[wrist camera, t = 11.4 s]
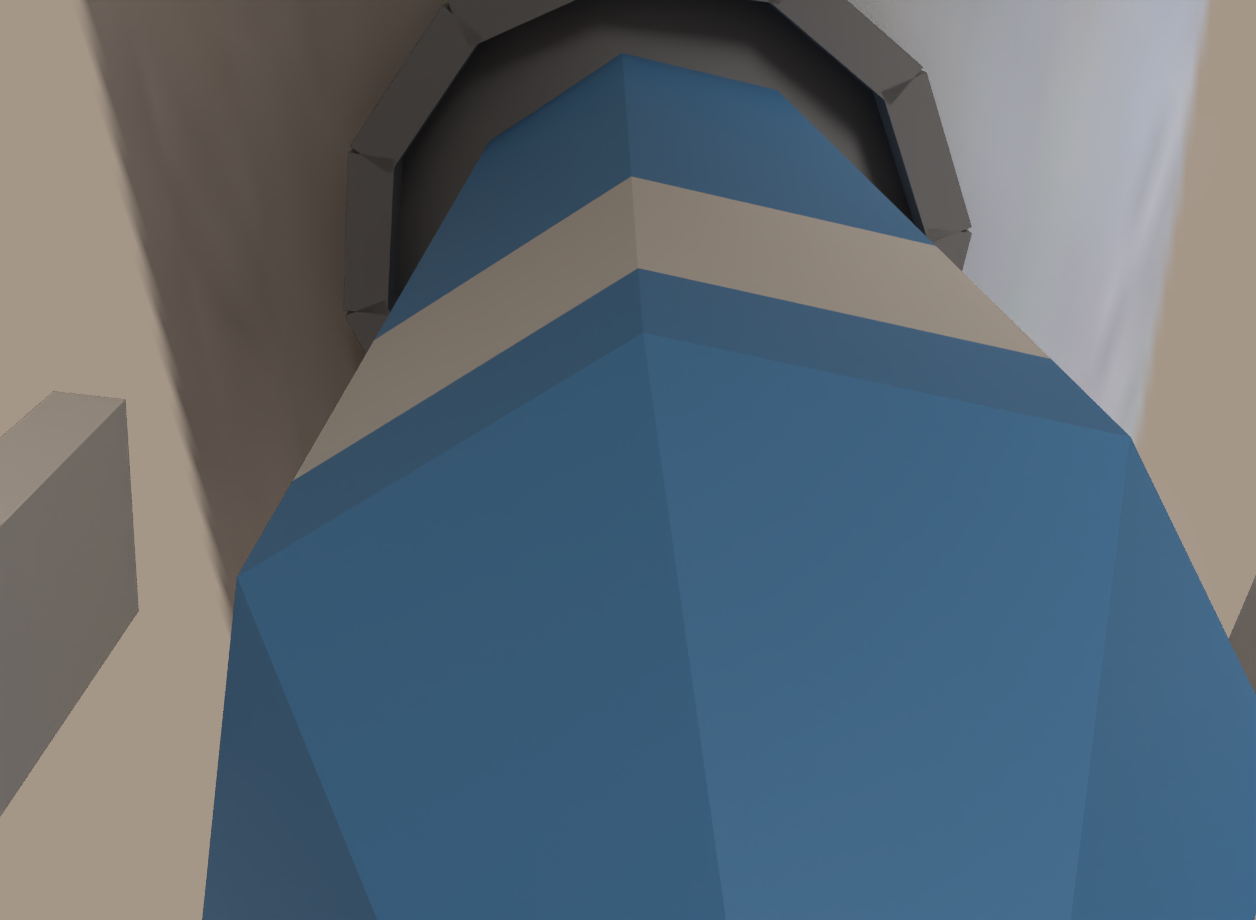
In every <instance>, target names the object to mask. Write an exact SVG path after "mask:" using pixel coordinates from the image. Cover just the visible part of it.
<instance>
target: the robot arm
mask: <svg viewBox="0 0 1256 920" xmlns="http://www.w3.org/2000/svg"><path fill="white" fill-rule="evenodd" d="M138 611H139V610H138V594H137V578H136V563H135V547H134V531H133V514H132V499H131V482H130V466H129V450H128V434H127V418H126V403H125V399H117V398H109V397H100V396H91V395H81V394H74V393H64V392H56V391H53V392H52V393H51V394H50V395H49V396H47V397H46V398H45V399H44V400H43V401H42V402H40V403H39V404H38V405H37V406H36V407H35V408H34V409H32V411H30V412H29V413H28V414H27V415H26V416H24V417H23V418H22V419H21V420H20V421H19V422H18V423H16V424H15V425H14V426H13V427H12V428H11V429H10V430H8V431H7V432H6V433H5V434H4V435H3V436H2V437H1V438H0V816H1V815H2V813H3V812H4V810H5V808H6V807H7V806H8V804H9V803H10V801H11V800H12V798H13V797H14V795H15V794H16V792H17V791H18V789H19V788H20V786H21V785H22V783H23V782H24V781H25V779H26V778H27V776H28V774H29V773H30V772H31V770H32V769H33V767H34V766H35V764H36V763H37V761H38V760H39V758H40V757H41V755H42V754H43V752H44V751H45V749H46V748H47V746H48V745H49V743H50V742H51V740H52V739H53V737H54V736H55V734H56V733H57V731H58V730H59V728H60V727H61V725H62V724H63V723H64V721H65V719H66V718H67V717H68V715H69V714H70V712H71V711H72V709H73V708H74V706H75V705H76V703H77V702H78V700H79V699H80V697H81V696H82V694H83V693H84V691H85V690H86V688H87V687H88V685H89V684H90V682H91V681H92V679H93V678H94V676H95V675H96V673H97V672H98V670H99V669H100V668H101V666H102V665H103V663H104V661H105V660H106V659H107V657H108V656H109V654H110V653H111V651H112V650H113V648H114V647H115V645H116V644H117V642H118V641H119V639H120V638H121V636H122V635H123V633H124V632H125V630H126V629H127V627H128V626H129V624H130V623H131V621H132V620H133V618H134V617H135V615H136V614H137V613H138ZM1229 641H1230V643H1231V645H1232V647H1233V649H1234V651H1235V653H1236V655H1237V658H1238V660H1239V662H1240V664H1241V666H1242V668H1243V670H1244V672H1245V674H1246V676H1247V678H1248V680H1249V682H1250V684H1251V686H1252V688H1253V690H1254V693H1255V695H1256V576H1255V579H1254V581H1253V583H1252V586H1251V588H1250V590H1249V593H1248V595H1247V597H1246V600H1245V602H1244V605H1243V607H1242V609H1241V612H1240V614H1239V616H1238V619H1237V621H1236V623H1235V626H1234V628H1233V630H1232V633H1231V635H1230V637H1229Z"/></svg>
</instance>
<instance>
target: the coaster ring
mask: <svg viewBox="0 0 1256 920" xmlns="http://www.w3.org/2000/svg"><path fill="white" fill-rule="evenodd" d="M621 53H624V54H629V55H633V56H637V57H641V58H645V59H649V60H654V61H658V62H662V63H666V64H670V65H674V66H679V67H683V68H687V69H691V70H695V71H700V72H704V73H708V74H712V75H716V76H720V77H725V78H729V79H733V80H737V81H741V82H745V83H750V84H754V85H758V86H762V87H766V88H771V89H775V90H778V91H779V92H780V93H781V94H782V95H783V96H784V97H785V98H786V99H787V100H788V101H789V102H790V103H791V104H792V105H793V106H794V107H795V108H796V109H797V110H798V111H799V112H800V113H801V114H802V115H803V116H804V117H805V118H806V119H807V120H808V121H809V122H810V123H811V124H812V125H813V126H814V127H815V128H816V129H817V130H818V131H819V132H820V133H822V134H823V135H824V136H825V137H826V138H827V139H828V140H829V141H830V142H831V143H832V144H833V145H834V146H835V147H836V148H837V149H838V150H839V151H840V152H841V153H842V154H843V155H844V156H845V157H846V158H847V159H848V160H849V161H850V162H851V163H852V164H853V165H854V166H855V167H856V168H857V169H858V170H859V171H860V172H861V173H862V174H863V175H864V176H865V177H866V178H867V179H868V180H869V181H870V182H871V183H872V184H873V185H874V186H875V187H876V188H877V189H878V190H879V191H881V192H882V193H883V194H884V195H885V196H886V197H887V198H888V199H889V200H890V201H891V202H892V203H893V204H894V205H895V206H896V207H897V208H898V209H899V210H900V211H901V212H902V213H903V214H904V215H905V216H906V217H907V218H908V219H909V220H910V221H911V222H912V223H913V224H914V225H915V226H916V227H917V228H918V229H919V230H920V231H921V232H922V233H923V234H924V235H925V236H926V237H927V238H928V239H929V240H930V241H931V242H932V243H933V244H934V245H935V246H936V247H937V248H939V249H940V250H941V251H942V252H943V253H944V254H945V255H946V256H947V257H948V258H949V259H950V260H951V261H952V262H953V263H954V264H955V265H956V266H957V267H958V268H959V269H960V270H961V271H962V269H963V265H964V261H965V257H966V254H967V250H968V246H969V242H970V238H971V234H972V233H971V232H969V231H968V230H967V229H968V228H970V227H971V223H970V220H969V216H968V213H967V210H966V206H965V203H964V199H963V196H962V192H961V189H960V186H959V182H958V179H957V175H956V172H955V168H954V165H953V162H952V158H951V155H950V151H949V148H948V144H947V141H946V138H945V134H944V131H943V127H942V124H941V120H940V117H939V114H938V110H937V107H936V103H935V100H934V97H933V93H932V90H931V86H930V83H929V79H928V76H927V73H926V72H924V71H922V70H921V69H922V68H923V67H922V66H921V65H920V64H919V63H918V62H917V61H916V60H914V59H913V58H912V57H911V56H910V55H909V54H908V53H906V52H905V51H904V50H903V49H902V48H901V47H900V46H899V45H897V44H896V43H895V42H894V41H893V40H892V39H891V38H889V37H888V36H887V35H886V34H885V33H884V32H883V31H881V30H880V29H879V28H878V27H877V26H876V25H875V24H873V23H872V22H871V21H870V20H869V19H868V18H867V17H865V16H864V15H863V14H862V13H861V12H860V11H859V10H858V9H856V8H855V7H854V6H853V5H852V4H851V3H850V2H848V1H847V0H449V1H448V3H447V4H445V5H442V7H441V8H440V10H439V11H438V13H437V14H436V16H435V17H434V19H433V20H432V22H431V23H430V25H429V26H428V28H427V30H426V31H425V33H424V34H423V36H422V37H421V39H420V40H419V42H418V43H417V45H416V46H415V48H414V49H413V51H412V53H411V54H410V56H409V57H408V59H407V60H406V62H405V63H404V65H403V66H402V68H401V69H400V71H399V72H398V74H397V76H396V77H395V79H394V80H393V82H392V83H391V85H390V86H389V88H388V89H387V91H386V92H385V94H384V95H383V97H382V99H381V100H380V102H379V103H378V105H377V106H376V108H375V109H374V111H373V112H372V114H371V115H370V117H369V118H368V120H367V121H366V123H365V125H364V126H363V128H362V129H361V131H360V132H359V134H358V135H357V137H356V138H355V140H354V141H353V143H352V144H351V146H350V147H352V148H353V149H352V150H351V151H350V152H349V153H348V179H347V213H346V247H345V280H344V310H346V311H348V313H347V314H346V316H345V317H346V319H347V321H348V323H349V324H350V326H351V328H352V330H353V332H354V334H355V335H356V337H357V339H358V341H359V343H360V345H361V347H362V348H363V350H364V352H365V354H366V353H367V352H368V350H369V348H370V347H371V345H372V343H373V341H374V340H375V338H376V336H377V334H378V333H379V331H380V329H381V328H382V326H383V324H384V322H385V321H386V319H387V317H388V315H389V314H390V312H391V310H392V309H393V307H394V305H395V303H396V302H397V300H398V298H399V296H400V295H401V293H402V291H403V290H404V288H405V286H406V284H407V283H408V281H409V279H410V277H411V276H412V274H413V272H414V271H415V269H416V267H417V265H418V264H419V262H420V260H421V258H422V257H423V255H424V253H425V252H426V250H427V248H428V246H429V245H430V243H431V241H432V239H433V238H434V236H435V234H436V233H437V231H438V229H439V227H440V226H441V224H442V222H443V220H444V219H445V217H446V215H447V214H448V212H449V210H450V208H451V207H452V205H453V203H454V201H455V200H456V198H457V196H458V195H459V193H460V191H461V189H462V188H463V186H464V184H465V182H466V181H467V179H468V177H469V176H470V174H471V172H472V170H473V169H474V167H475V165H476V163H477V162H478V160H479V158H480V157H481V155H482V153H483V151H484V150H485V148H486V146H487V144H488V143H489V141H490V140H492V139H493V138H495V137H496V136H498V135H499V134H501V133H502V132H504V131H505V130H507V129H508V128H510V127H512V126H513V125H515V124H516V123H518V122H519V121H521V120H522V119H524V118H525V117H527V116H528V115H530V114H531V113H533V112H534V111H536V110H537V109H539V108H540V107H542V106H543V105H545V104H546V103H548V102H549V101H551V100H552V99H554V98H555V97H557V96H558V95H560V94H561V93H563V92H564V91H566V90H567V89H569V88H570V87H572V86H573V85H575V84H576V83H578V82H579V81H581V80H582V79H584V78H585V77H587V76H588V75H590V74H591V73H593V72H594V71H596V70H597V69H599V68H600V67H602V66H603V65H605V64H606V63H608V62H609V61H611V60H612V59H614V58H615V57H617V56H618V55H620V54H621Z"/></svg>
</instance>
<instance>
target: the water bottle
mask: <svg viewBox="0 0 1256 920" xmlns="http://www.w3.org/2000/svg"><path fill="white" fill-rule="evenodd" d="M1255 915H1256V695H1255V693H1254V690H1253V688H1252V686H1251V684H1250V682H1249V680H1248V678H1247V676H1246V674H1245V672H1244V670H1243V668H1242V666H1241V664H1240V662H1239V660H1238V658H1237V655H1236V653H1235V651H1234V649H1233V647H1232V645H1231V643H1230V641H1229V639H1228V637H1227V635H1226V633H1225V631H1224V629H1223V627H1222V625H1221V623H1220V621H1219V618H1218V617H1217V614H1216V612H1215V610H1214V608H1213V606H1212V604H1211V602H1210V600H1209V598H1208V596H1207V594H1206V592H1205V590H1204V588H1203V586H1202V584H1201V581H1200V580H1199V577H1198V575H1197V573H1196V571H1195V569H1194V567H1193V565H1192V563H1191V561H1190V559H1189V557H1188V555H1187V553H1186V551H1185V548H1184V546H1183V544H1182V542H1181V540H1180V538H1179V536H1178V534H1177V532H1176V530H1175V528H1174V526H1173V524H1172V522H1171V520H1170V518H1169V516H1168V513H1167V512H1166V509H1165V507H1164V505H1163V503H1162V501H1161V499H1160V497H1159V495H1158V493H1157V491H1156V489H1155V487H1154V485H1153V483H1152V481H1151V478H1150V477H1149V474H1148V473H1147V470H1146V468H1145V466H1144V464H1143V462H1142V460H1141V458H1140V456H1139V454H1138V452H1137V450H1136V448H1135V446H1134V443H1133V441H1132V439H1131V437H1130V436H1129V435H1128V434H1127V433H1126V432H1125V431H1124V430H1123V429H1122V428H1121V427H1120V426H1119V425H1118V424H1117V423H1116V422H1115V421H1114V420H1112V419H1111V418H1110V417H1109V416H1108V415H1107V414H1106V413H1105V412H1104V411H1103V410H1102V409H1101V408H1100V407H1099V406H1098V405H1097V404H1096V403H1095V402H1094V401H1093V400H1092V399H1091V398H1090V397H1089V396H1088V395H1087V394H1086V393H1085V392H1084V391H1083V390H1082V389H1081V388H1080V387H1079V386H1078V385H1077V384H1076V383H1075V382H1074V381H1073V380H1072V379H1071V378H1070V377H1069V376H1068V375H1067V374H1066V373H1065V372H1064V371H1063V370H1062V369H1061V368H1060V367H1059V366H1058V365H1057V364H1056V363H1054V362H1053V361H1052V360H1051V359H1050V358H1049V357H1048V356H1047V355H1046V354H1045V353H1044V352H1043V351H1042V350H1041V349H1040V348H1039V347H1038V346H1037V345H1036V344H1035V343H1034V342H1033V341H1032V340H1031V339H1030V338H1029V337H1028V336H1027V335H1026V334H1025V333H1024V332H1023V331H1022V330H1021V329H1020V328H1019V327H1018V326H1017V325H1016V324H1015V323H1014V322H1013V321H1012V320H1011V319H1010V318H1009V317H1008V316H1007V315H1006V314H1005V313H1004V312H1003V311H1002V310H1001V309H1000V308H999V307H998V306H996V305H995V304H994V303H993V302H992V301H991V300H990V299H989V298H988V297H987V296H986V295H985V294H984V293H983V292H982V291H981V290H980V289H979V288H978V287H977V286H976V285H975V284H974V283H973V282H972V281H971V280H970V279H969V278H968V277H967V276H966V275H965V274H964V273H963V272H962V271H961V270H960V269H959V268H958V267H957V266H956V265H955V264H954V263H953V262H952V261H951V260H950V259H949V258H948V257H947V256H946V255H945V254H944V253H943V252H942V251H941V250H940V249H939V248H937V247H936V246H935V245H934V244H933V243H932V242H931V241H930V240H929V239H928V238H927V237H926V236H925V235H924V234H923V233H922V232H921V231H920V230H919V229H918V228H917V227H916V226H915V225H914V224H913V223H912V222H911V221H910V220H909V219H908V218H907V217H906V216H905V215H904V214H903V213H902V212H901V211H900V210H899V209H898V208H897V207H896V206H895V205H894V204H893V203H892V202H891V201H890V200H889V199H888V198H887V197H886V196H885V195H884V194H883V193H882V192H881V191H879V190H878V189H877V188H876V187H875V186H874V185H873V184H872V183H871V182H870V181H869V180H868V179H867V178H866V177H865V176H864V175H863V174H862V173H861V172H860V171H859V170H858V169H857V168H856V167H855V166H854V165H853V164H852V163H851V162H850V161H849V160H848V159H847V158H846V157H845V156H844V155H843V154H842V153H841V152H840V151H839V150H838V149H837V148H836V147H835V146H834V145H833V144H832V143H831V142H830V141H829V140H828V139H827V138H826V137H825V136H824V135H823V134H822V133H820V132H819V131H818V130H817V129H816V128H815V127H814V126H813V125H812V124H811V123H810V122H809V121H808V120H807V119H806V118H805V117H804V116H803V115H802V114H801V113H800V112H799V111H798V110H797V109H796V108H795V107H794V106H793V105H792V104H791V103H790V102H789V101H788V100H787V99H786V98H785V97H784V96H783V95H782V94H781V93H780V92H779V91H778V90H775V89H771V88H766V87H762V86H758V85H754V84H750V83H745V82H741V81H737V80H733V79H729V78H725V77H720V76H716V75H712V74H708V73H704V72H700V71H695V70H691V69H687V68H683V67H679V66H674V65H670V64H666V63H662V62H658V61H654V60H649V59H645V58H641V57H637V56H633V55H629V54H624V53H621V54H620V55H618V56H617V57H615V58H614V59H612V60H611V61H609V62H608V63H606V64H605V65H603V66H602V67H600V68H599V69H597V70H596V71H594V72H593V73H591V74H590V75H588V76H587V77H585V78H584V79H582V80H581V81H579V82H578V83H576V84H575V85H573V86H572V87H570V88H569V89H567V90H566V91H564V92H563V93H561V94H560V95H558V96H557V97H555V98H554V99H552V100H551V101H549V102H548V103H546V104H545V105H543V106H542V107H540V108H539V109H537V110H536V111H534V112H533V113H531V114H530V115H528V116H527V117H525V118H524V119H522V120H521V121H519V122H518V123H516V124H515V125H513V126H512V127H510V128H508V129H507V130H505V131H504V132H502V133H501V134H499V135H498V136H496V137H495V138H493V139H492V140H490V141H489V143H488V144H487V146H486V148H485V150H484V151H483V153H482V155H481V157H480V158H479V160H478V162H477V163H476V165H475V167H474V169H473V170H472V172H471V174H470V176H469V177H468V179H467V181H466V182H465V184H464V186H463V188H462V189H461V191H460V193H459V195H458V196H457V198H456V200H455V201H454V203H453V205H452V207H451V208H450V210H449V212H448V214H447V215H446V217H445V219H444V220H443V222H442V224H441V226H440V227H439V229H438V231H437V233H436V234H435V236H434V238H433V239H432V241H431V243H430V245H429V246H428V248H427V250H426V252H425V253H424V255H423V257H422V258H421V260H420V262H419V264H418V265H417V267H416V269H415V271H414V272H413V274H412V276H411V277H410V279H409V281H408V283H407V284H406V286H405V288H404V290H403V291H402V293H401V295H400V296H399V298H398V300H397V302H396V303H395V305H394V307H393V309H392V310H391V312H390V314H389V315H388V317H387V319H386V321H385V322H384V324H383V326H382V328H381V329H380V331H379V333H378V334H377V336H376V338H375V340H374V341H373V343H372V345H371V347H370V348H369V350H368V352H367V353H366V355H365V357H364V359H363V360H362V362H361V364H360V366H359V367H358V369H357V371H356V372H355V374H354V376H353V378H352V379H351V381H350V383H349V385H348V386H347V388H346V390H345V391H344V393H343V395H342V397H341V398H340V400H339V402H338V404H337V405H336V407H335V409H334V410H333V412H332V414H331V416H330V417H329V419H328V421H327V423H326V424H325V426H324V428H323V429H322V431H321V433H320V435H319V436H318V438H317V440H316V442H315V443H314V445H313V447H312V448H311V450H310V452H309V454H308V455H307V457H306V459H305V460H304V462H303V464H302V466H301V467H300V469H299V471H298V473H297V474H296V476H295V478H294V479H293V481H292V483H291V485H290V486H289V488H288V490H287V492H286V493H285V495H284V497H283V498H282V500H281V502H280V504H279V505H278V507H277V509H276V511H275V512H274V514H273V516H272V517H271V519H270V521H269V523H268V524H267V526H266V528H265V530H264V531H263V533H262V535H261V536H260V538H259V540H258V542H257V543H256V545H255V547H254V549H253V550H252V552H251V554H250V555H249V557H248V559H247V561H246V562H245V564H244V566H243V568H242V569H241V571H240V573H239V574H238V576H237V582H236V592H235V602H234V612H233V622H232V632H231V642H230V651H229V661H228V671H227V682H226V692H225V701H224V711H223V721H222V731H221V740H220V750H219V760H218V770H217V780H216V790H215V800H214V810H213V820H212V829H211V839H210V850H209V859H208V869H207V880H206V889H205V899H204V909H203V919H202V920H1254V919H1255Z"/></svg>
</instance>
